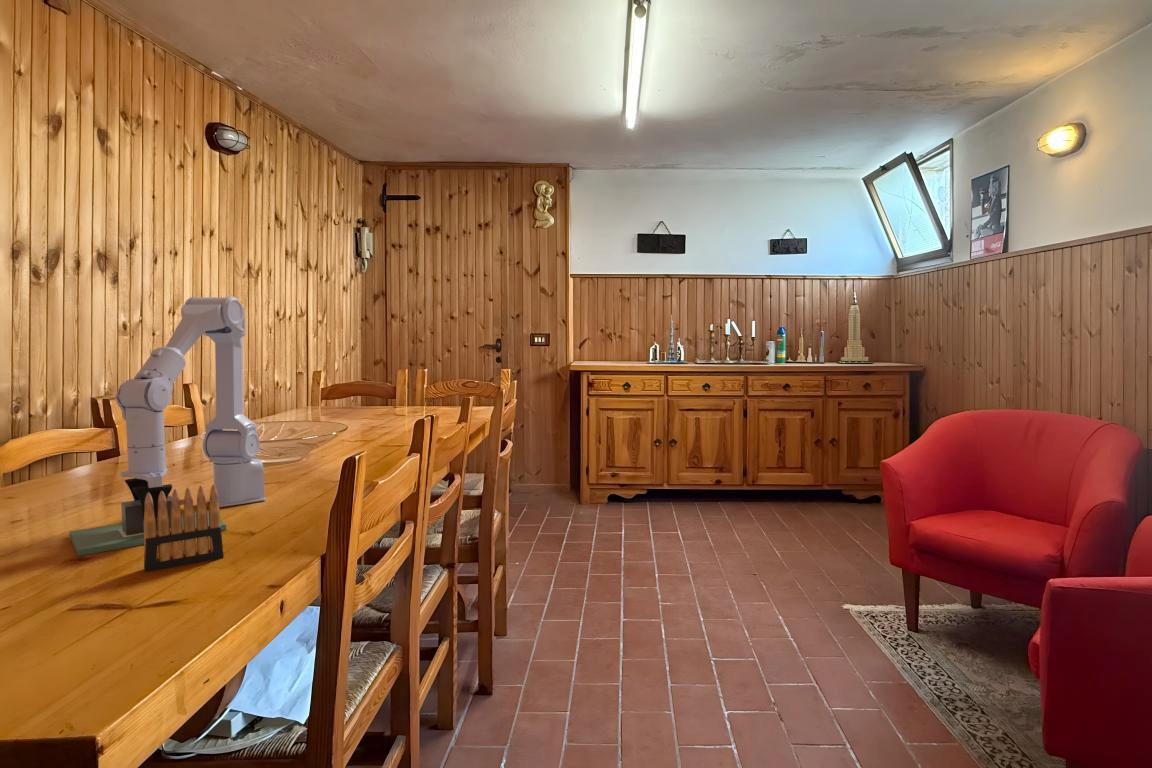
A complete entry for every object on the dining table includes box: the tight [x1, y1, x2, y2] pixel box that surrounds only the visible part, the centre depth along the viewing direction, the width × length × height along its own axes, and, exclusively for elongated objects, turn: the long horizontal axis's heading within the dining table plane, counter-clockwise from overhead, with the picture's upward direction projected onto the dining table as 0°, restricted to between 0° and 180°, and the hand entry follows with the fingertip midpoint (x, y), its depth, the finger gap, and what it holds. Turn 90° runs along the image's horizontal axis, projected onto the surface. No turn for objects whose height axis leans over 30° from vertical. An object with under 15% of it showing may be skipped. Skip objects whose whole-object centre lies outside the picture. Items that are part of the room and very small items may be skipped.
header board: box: [69, 509, 227, 557], centre depth 121 cm, size 22×14×4 cm, turn 132°
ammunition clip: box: [143, 483, 224, 573], centre depth 105 cm, size 11×2×12 cm, turn 127°
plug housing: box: [121, 495, 194, 535], centre depth 121 cm, size 11×4×5 cm, turn 132°
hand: (149, 520), depth 120 cm, fingers open, 7 cm apart
